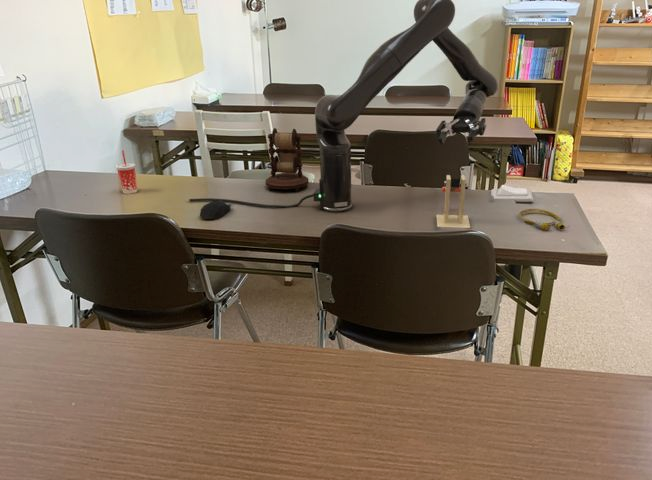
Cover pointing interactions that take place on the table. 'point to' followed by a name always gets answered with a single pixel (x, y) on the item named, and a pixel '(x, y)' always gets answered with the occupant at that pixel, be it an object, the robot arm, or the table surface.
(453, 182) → the lever
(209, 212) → the gaming mouse
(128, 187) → the beverage cup
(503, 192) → the light switch
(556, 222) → the extension cord
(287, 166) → the brown spool stand
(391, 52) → the robot arm
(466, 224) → the bracket
